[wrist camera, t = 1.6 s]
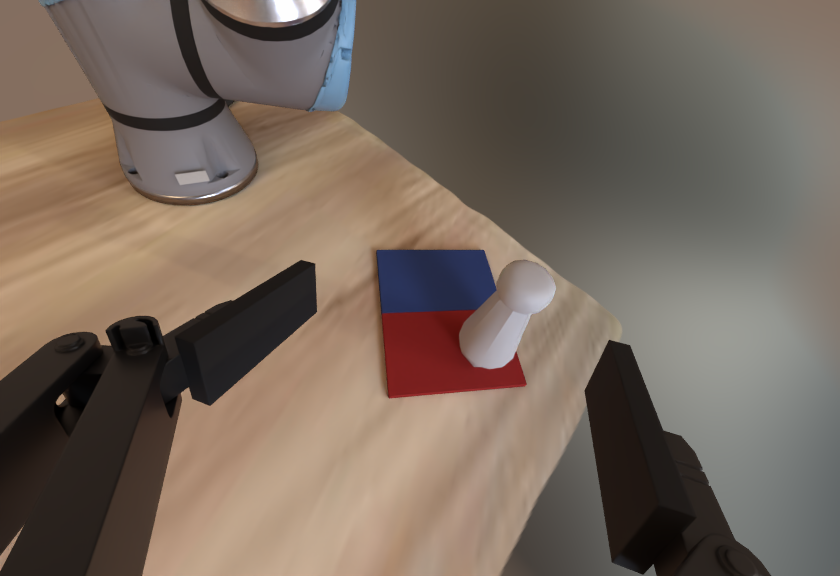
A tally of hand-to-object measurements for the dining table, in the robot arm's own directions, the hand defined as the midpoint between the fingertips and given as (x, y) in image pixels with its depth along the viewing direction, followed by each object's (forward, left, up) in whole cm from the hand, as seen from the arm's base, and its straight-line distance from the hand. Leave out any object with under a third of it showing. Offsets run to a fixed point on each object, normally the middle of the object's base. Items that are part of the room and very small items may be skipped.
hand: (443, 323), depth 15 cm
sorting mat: (-12, +6, -19) cm, 23 cm away
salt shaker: (-7, +9, -19) cm, 22 cm away
